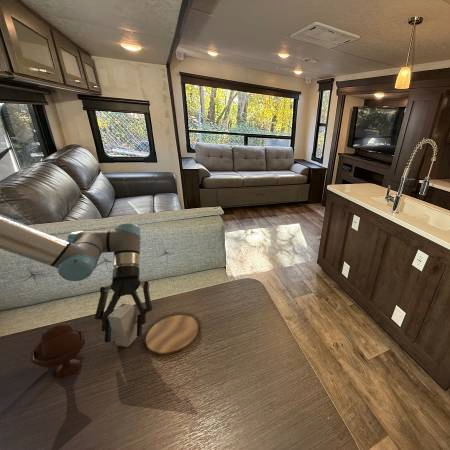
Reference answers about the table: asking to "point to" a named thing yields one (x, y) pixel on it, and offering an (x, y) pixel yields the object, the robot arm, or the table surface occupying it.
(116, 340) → the cosmetic box
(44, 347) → the ice cream bowl
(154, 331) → the wooden trivet
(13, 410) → the table surface
